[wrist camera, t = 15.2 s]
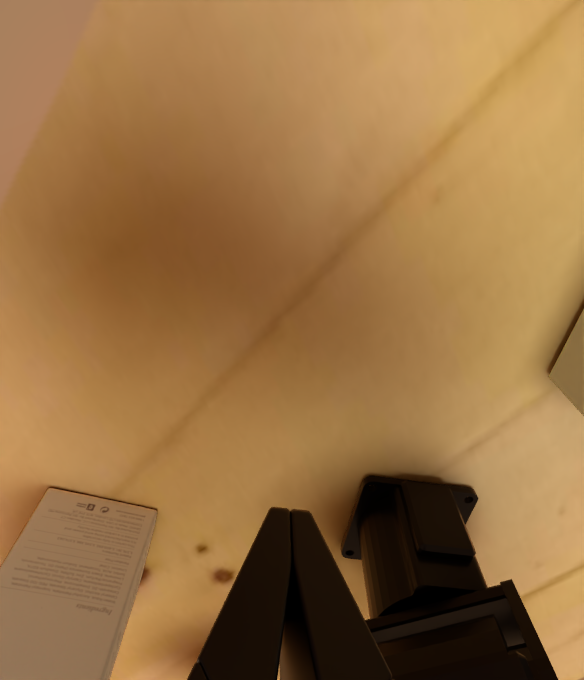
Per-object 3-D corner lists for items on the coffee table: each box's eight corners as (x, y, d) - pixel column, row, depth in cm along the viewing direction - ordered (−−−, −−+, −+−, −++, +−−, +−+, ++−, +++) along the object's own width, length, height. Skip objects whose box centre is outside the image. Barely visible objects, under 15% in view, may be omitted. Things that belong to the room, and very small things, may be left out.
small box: (47, 483, 26) (-150, 801, 14) (160, 507, 26) (60, 824, 15) (40, 570, 29) (-121, 877, 18) (139, 588, 30) (46, 892, 19)
